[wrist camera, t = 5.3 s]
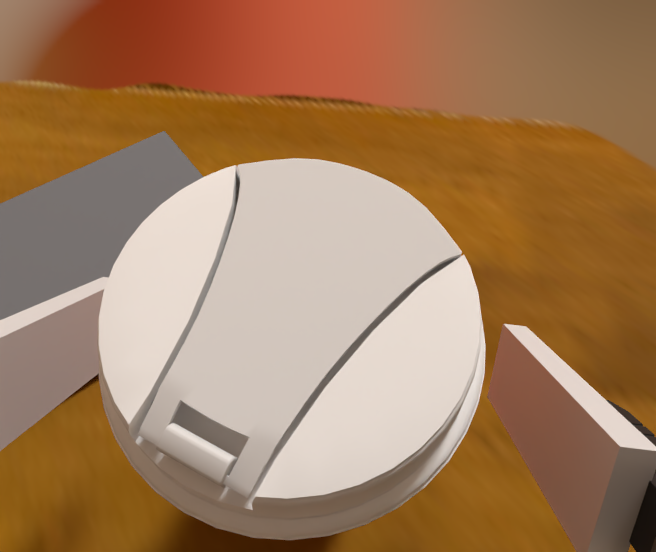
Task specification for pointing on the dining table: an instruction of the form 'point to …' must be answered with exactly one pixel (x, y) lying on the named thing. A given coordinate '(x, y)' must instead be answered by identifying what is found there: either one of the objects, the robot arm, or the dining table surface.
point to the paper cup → (290, 348)
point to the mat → (83, 221)
